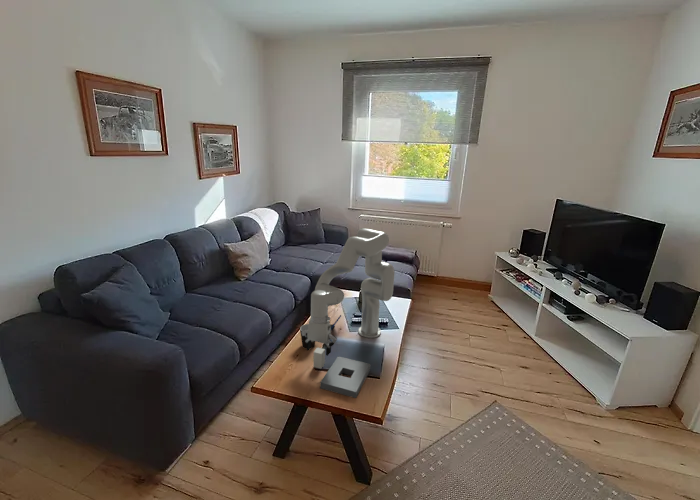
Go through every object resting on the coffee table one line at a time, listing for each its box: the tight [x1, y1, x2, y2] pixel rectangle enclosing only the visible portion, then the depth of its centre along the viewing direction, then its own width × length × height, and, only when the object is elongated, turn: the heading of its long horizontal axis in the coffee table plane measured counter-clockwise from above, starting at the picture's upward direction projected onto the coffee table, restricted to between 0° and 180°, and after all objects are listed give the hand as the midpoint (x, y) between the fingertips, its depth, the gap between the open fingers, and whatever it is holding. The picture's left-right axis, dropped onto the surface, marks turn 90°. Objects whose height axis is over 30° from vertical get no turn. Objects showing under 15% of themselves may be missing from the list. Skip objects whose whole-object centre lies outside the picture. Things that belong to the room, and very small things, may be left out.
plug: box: [313, 346, 326, 370], centre depth 154 cm, size 4×4×8 cm
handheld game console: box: [330, 314, 342, 332], centre depth 183 cm, size 16×13×9 cm
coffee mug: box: [299, 323, 316, 350], centre depth 170 cm, size 12×9×10 cm
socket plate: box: [319, 356, 371, 399], centre depth 147 cm, size 20×16×3 cm
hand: (318, 351), depth 153 cm, fingers open, 9 cm apart
